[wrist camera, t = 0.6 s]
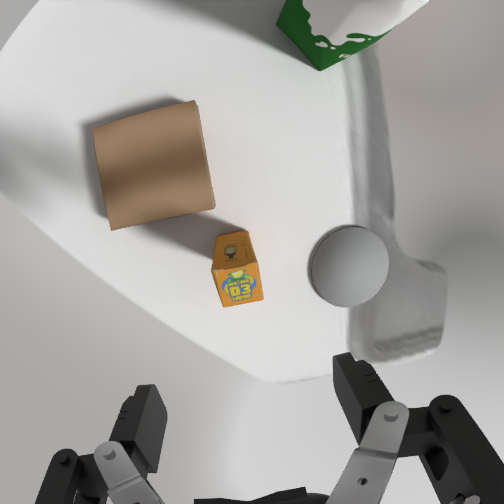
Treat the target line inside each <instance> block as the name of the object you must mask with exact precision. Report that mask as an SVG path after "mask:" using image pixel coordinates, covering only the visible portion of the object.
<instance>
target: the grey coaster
mask: <svg viewBox="0 0 504 504" xmlns="http://www.w3.org/2000/svg"><path fill="white" fill-rule="evenodd" d="M388 267H389V258H388V252H387V249H386V247H385V245H384V243H383V241H382V240H381V239H380V238H379V237H378V236H377V235H376V234H375V233H373V232H371V231H369V230H367V229H364V228H361V227H347V228H343V229H340V230H338V231H336V232H334V233H333V234H331V235H330V236H328V237H327V238H326V239H325V240H324V241H323V243H322V244H321V245H320V247H319V248H318V250H317V252H316V254H315V256H314V259H313V264H312V278H313V283H314V286H315V288H316V290H317V291H318V293H319V294H320V295H321V297H322V298H323V299H324V300H326V301H327V302H329V303H330V304H332V305H335V306H339V307H354V306H357V305H360V304H362V303H365V302H366V301H368V300H369V299H371V298H372V297H373V296H374V295H375V294H376V293H377V292H378V291H379V290H380V288H381V287H382V285H383V283H384V281H385V279H386V276H387V273H388Z"/></svg>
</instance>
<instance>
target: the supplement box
mask: <svg viewBox="0 0 504 504" xmlns="http://www.w3.org/2000/svg"><path fill="white" fill-rule="evenodd" d="M211 272H212V276H213V279H214V282H215V285H216V288H217V291H218V294H219V297H220V300H221V303H222V306H223V307H229V306H234V305H239V304H245V303H250V302H255V301H260V300H263V299H264V297H263V291H262V285H261V279H260V273H259V267H258V262H257V259H256V256H255V253H254V250H253V246H252V243H251V240H250V236H249V232H248V231H240V232H235V233H229V234H225V235H220V236H217V237H216V244H215V250H214V257H213V264H212V268H211Z"/></svg>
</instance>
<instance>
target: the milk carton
mask: <svg viewBox="0 0 504 504" xmlns="http://www.w3.org/2000/svg"><path fill="white" fill-rule="evenodd" d="M428 1H429V0H286V2H285V5H284V7H283V9H282V12H281V14H280V16H279V19H278V21H277V23H276V25H277V26H278V27H279V28H280V29H281V30H282V31H283V32H284V33H285V34H286V35H287V36H288V37H289V38H290V39H291V40H292V41H293V42H294V43H295V44H296V45H297V46H298V47H299V48H300V49H301V51H302V52H303V53H304V54H305V55H306V56H307V57H308V58H309V59H310V61H311V62H312V63H313V64H314V65H315V66H316V67H317V69H318V70H319V71H322V70H324V69H326V68H328V67H330V66H332V65H334V64H336V63H338V62H340V61H342V60H344V59H346V58H348V57H350V56H352V55H354V54H356V53H358V52H359V51H361V50H363V49H365V48H366V47H368V46H370V45H371V44H373V43H375V42H376V41H378V40H379V39H380V38H382V37H383V36H384V35H385V34H387V33H388V32H389V31H390V30H392V29H393V28H394V27H395V26H397V25H398V24H399V23H401V22H402V21H403V20H405V19H406V18H407V17H408V16H410V15H411V14H412V13H414V12H415V11H417V10H418V9H419V8H420V7H422V6H423V5H424V4H426V3H427V2H428Z"/></svg>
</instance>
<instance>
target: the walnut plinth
mask: <svg viewBox="0 0 504 504" xmlns="http://www.w3.org/2000/svg"><path fill="white" fill-rule="evenodd" d="M93 137H94V144H95V151H96V157H97V163H98V169H99V175H100V180H101V186H102V191H103V196H104V201H105V206H106V210H107V215H108V219H109V224H110V228H111V231H112V230H117V229H121V228H125V227H130V226H134V225H139V224H143V223H148V222H152V221H157V220H162V219H166V218H171V217H176V216H181V215H186V214H191V213H196V212H201V211H206V210H211V209H214V208H215V206H216V205H215V200H214V194H213V189H212V183H211V178H210V173H209V167H208V162H207V156H206V150H205V145H204V139H203V133H202V127H201V122H200V116H199V110H198V106H197V104H196V102H195V100H193V101H188V102H184V103H179V104H175V105H171V106H167V107H163V108H159V109H155V110H151V111H148V112H144V113H140V114H137V115H134V116H130V117H127V118H124V119H120V120H117V121H114V122H111V123H108V124H105V125H102V126H99V127H96V128H93Z"/></svg>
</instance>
